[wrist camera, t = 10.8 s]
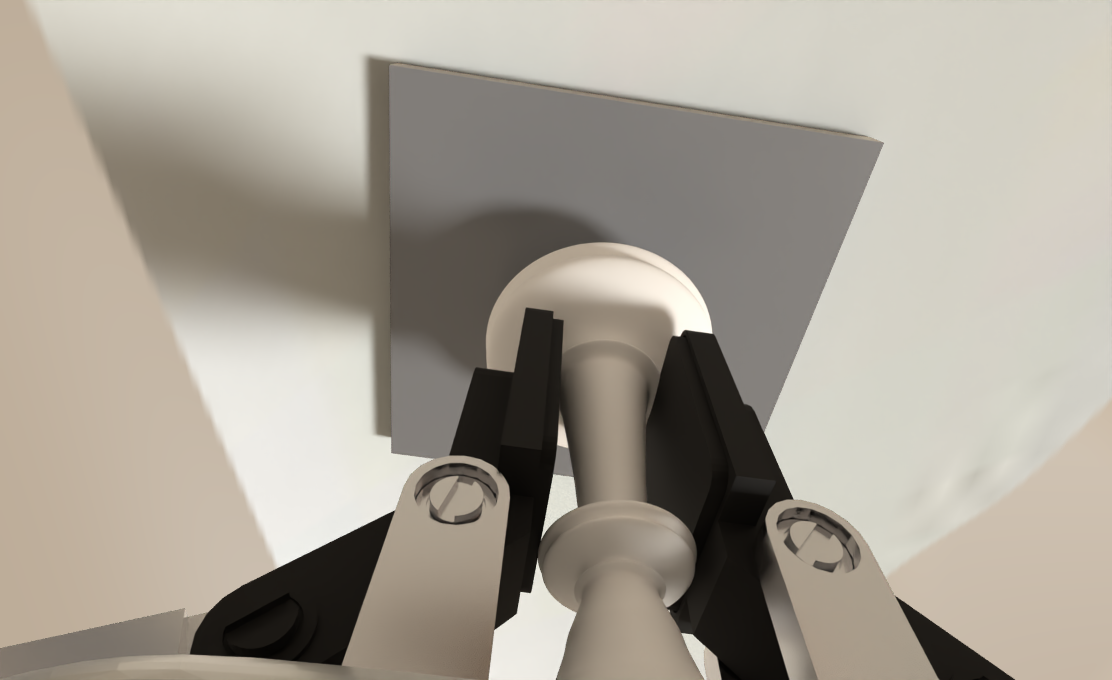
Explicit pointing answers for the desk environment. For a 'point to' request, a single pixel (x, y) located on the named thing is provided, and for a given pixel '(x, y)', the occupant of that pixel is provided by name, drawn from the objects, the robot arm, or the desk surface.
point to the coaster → (598, 223)
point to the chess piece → (610, 453)
